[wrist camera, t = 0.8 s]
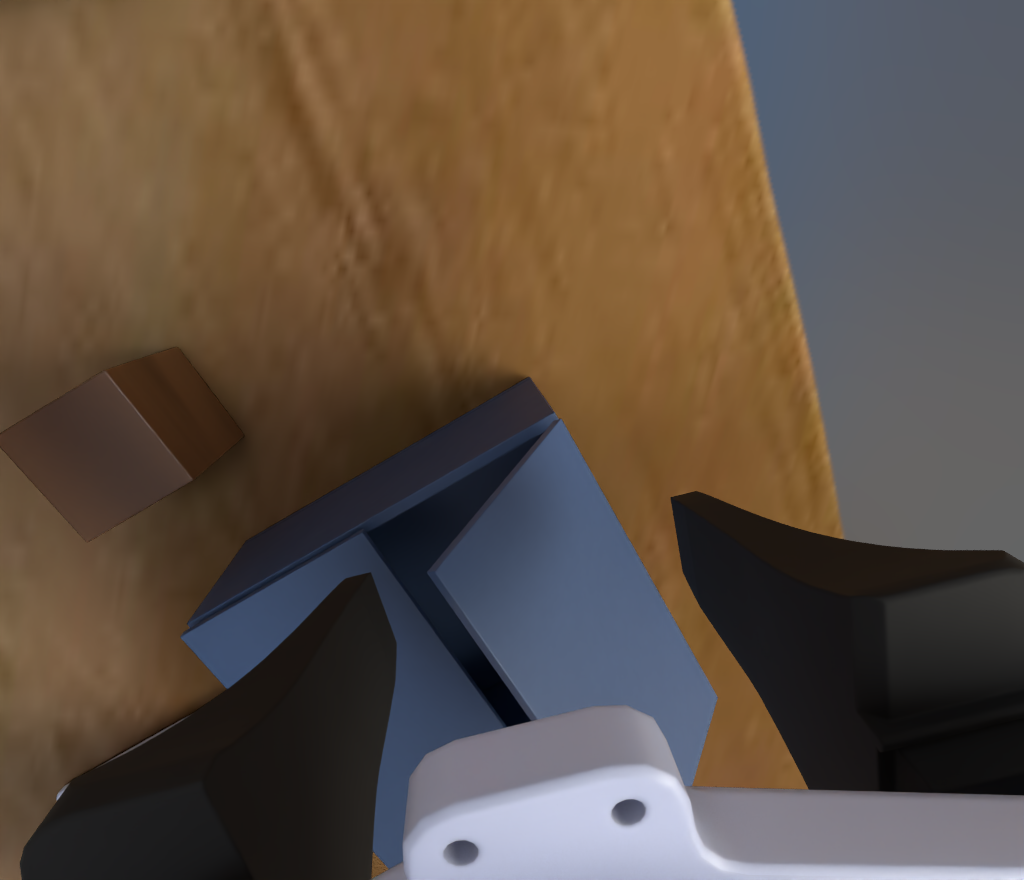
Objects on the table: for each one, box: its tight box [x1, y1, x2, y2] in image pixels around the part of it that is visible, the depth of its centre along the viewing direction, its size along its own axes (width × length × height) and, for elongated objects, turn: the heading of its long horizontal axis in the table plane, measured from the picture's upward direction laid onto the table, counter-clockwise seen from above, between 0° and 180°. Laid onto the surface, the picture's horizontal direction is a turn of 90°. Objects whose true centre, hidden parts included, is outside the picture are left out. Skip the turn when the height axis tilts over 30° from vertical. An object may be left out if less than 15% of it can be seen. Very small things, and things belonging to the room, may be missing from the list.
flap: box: [427, 419, 717, 786], centre depth 17 cm, size 6×12×1 cm
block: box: [0, 347, 244, 542], centre depth 21 cm, size 4×4×5 cm
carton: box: [181, 377, 558, 869], centre depth 23 cm, size 13×12×7 cm
